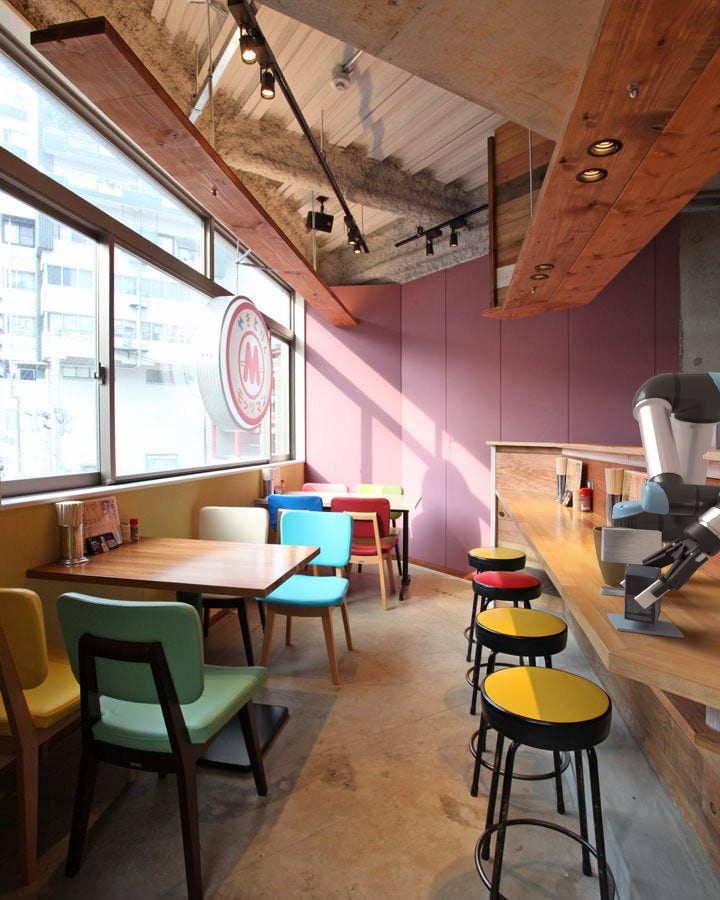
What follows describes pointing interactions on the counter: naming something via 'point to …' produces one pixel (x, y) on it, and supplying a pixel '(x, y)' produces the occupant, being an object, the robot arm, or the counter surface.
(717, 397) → the robot arm
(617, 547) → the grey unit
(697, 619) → the counter surface
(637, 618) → the small box
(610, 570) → the plant pot
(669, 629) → the mat
